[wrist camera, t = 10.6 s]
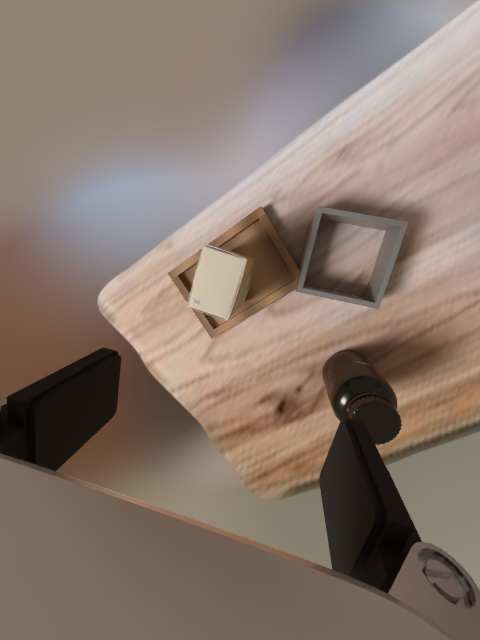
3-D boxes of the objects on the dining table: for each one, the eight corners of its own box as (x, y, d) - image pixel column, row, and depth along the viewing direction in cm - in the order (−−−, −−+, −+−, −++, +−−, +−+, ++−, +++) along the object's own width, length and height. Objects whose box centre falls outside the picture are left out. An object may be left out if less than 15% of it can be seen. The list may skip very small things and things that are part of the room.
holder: (392, 226, 31) (408, 222, 27) (367, 302, 34) (378, 308, 30) (313, 212, 32) (318, 206, 28) (294, 287, 35) (296, 291, 31)
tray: (261, 208, 33) (261, 206, 31) (305, 280, 34) (306, 281, 33) (172, 272, 37) (167, 273, 35) (214, 335, 38) (211, 338, 37)
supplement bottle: (368, 345, 35) (412, 389, 23) (374, 390, 36) (418, 452, 25) (317, 353, 36) (335, 397, 25) (324, 396, 38) (344, 457, 26)
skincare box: (244, 303, 36) (227, 325, 24) (215, 292, 36) (184, 310, 24) (259, 257, 34) (248, 258, 22) (228, 247, 34) (202, 242, 22)
